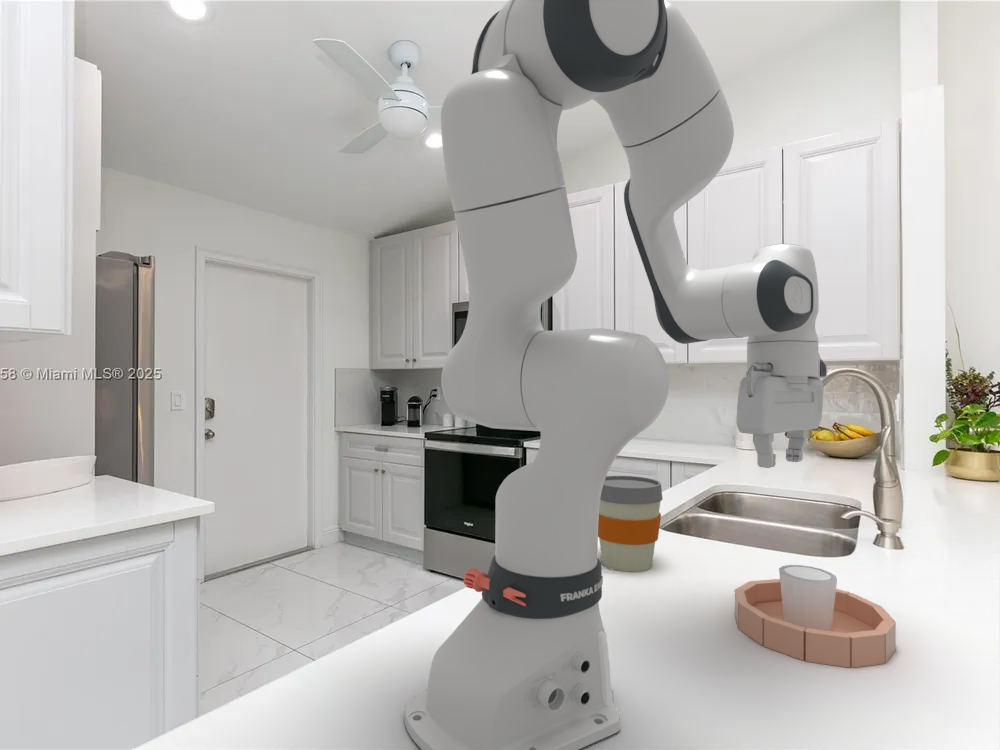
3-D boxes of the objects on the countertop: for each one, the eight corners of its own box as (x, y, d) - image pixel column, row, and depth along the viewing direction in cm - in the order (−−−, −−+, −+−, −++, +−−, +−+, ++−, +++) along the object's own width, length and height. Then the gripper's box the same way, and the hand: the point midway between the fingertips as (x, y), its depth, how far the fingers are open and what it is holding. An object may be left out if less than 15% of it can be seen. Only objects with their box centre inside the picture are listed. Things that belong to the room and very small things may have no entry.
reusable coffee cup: (677, 566, 98) (677, 483, 98) (629, 581, 91) (629, 491, 91) (624, 548, 108) (625, 473, 108) (578, 560, 101) (578, 479, 101)
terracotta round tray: (869, 684, 60) (869, 652, 60) (712, 627, 74) (712, 602, 74) (908, 633, 72) (908, 607, 72) (767, 593, 86) (767, 570, 86)
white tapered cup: (845, 639, 69) (845, 584, 69) (786, 633, 71) (786, 579, 71) (826, 616, 76) (826, 566, 76) (773, 611, 77) (773, 562, 77)
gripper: (774, 360, 66) (773, 474, 66) (831, 366, 80) (831, 461, 79) (724, 362, 71) (723, 468, 71) (786, 367, 84) (785, 456, 84)
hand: (780, 464), depth 75 cm, fingers open, 8 cm apart
